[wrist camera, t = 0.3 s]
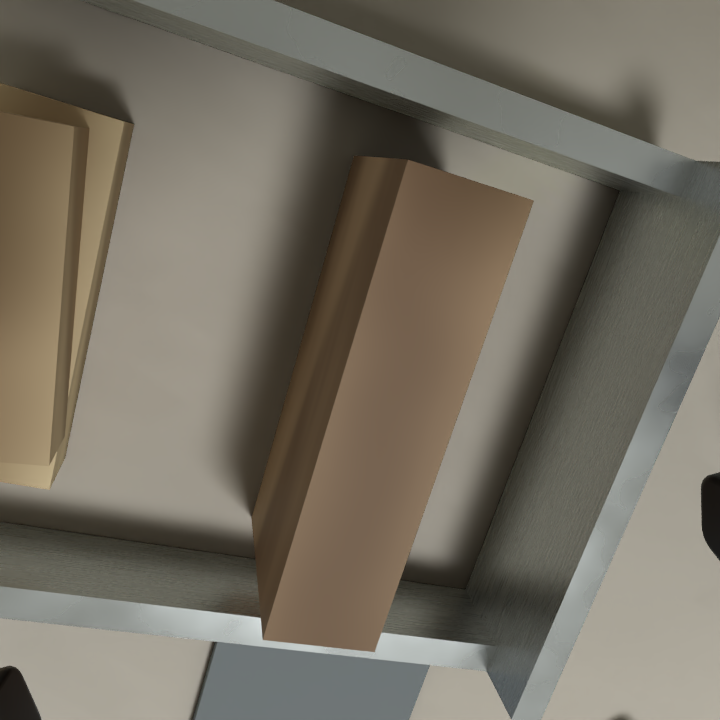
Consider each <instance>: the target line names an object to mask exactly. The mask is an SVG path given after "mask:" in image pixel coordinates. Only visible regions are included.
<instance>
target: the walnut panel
mask: <svg viewBox="0 0 720 720" xmlns="http://www.w3.org/2000/svg"><path fill="white" fill-rule="evenodd" d="M533 202H534V201H533V200H530V199H527V198H524V197H521V196H518V195H515V194H512V193H509V192H506V191H503V190H500V189H497V188H494V187H491V186H488V185H484V184H481V183H478V182H475V181H472V180H469V179H466V178H463V177H460V176H457V175H454V174H451V173H448V172H445V171H442V170H439V169H436V168H432V167H429V166H426V165H423V164H420V163H417V162H414V161H411V160H408V159H394V158H381V157H367V156H354V158H353V161H352V165H351V168H350V172H349V175H348V179H347V182H346V186H345V189H344V193H343V196H342V200H341V204H340V207H339V211H338V214H337V218H336V221H335V225H334V228H333V232H332V235H331V239H330V242H329V246H328V249H327V253H326V257H325V260H324V264H323V267H322V271H321V274H320V278H319V281H318V285H317V288H316V292H315V295H314V299H313V302H312V306H311V310H310V313H309V317H308V320H307V324H306V327H305V331H304V334H303V338H302V341H301V345H300V348H299V352H298V355H297V359H296V363H295V366H294V370H293V373H292V377H291V380H290V384H289V387H288V391H287V394H286V398H285V401H284V405H283V409H282V412H281V416H280V419H279V423H278V426H277V430H276V433H275V437H274V440H273V444H272V447H271V451H270V454H269V458H268V462H267V465H266V469H265V472H264V476H263V479H262V483H261V486H260V490H259V493H258V497H257V500H256V504H255V507H254V511H253V515H252V527H253V538H254V549H255V560H256V572H257V583H258V594H259V605H260V616H261V627H262V638H263V640H267V641H276V642H285V643H295V644H304V645H313V646H322V647H332V648H341V649H350V650H359V651H369V652H375V650H376V647H377V644H378V641H379V638H380V635H381V633H382V630H383V627H384V624H385V621H386V618H387V616H388V613H389V610H390V607H391V604H392V601H393V599H394V596H395V593H396V590H397V587H398V584H399V582H400V579H401V576H402V573H403V570H404V567H405V565H406V562H407V559H408V556H409V553H410V550H411V547H412V545H413V542H414V539H415V536H416V533H417V530H418V528H419V525H420V522H421V519H422V516H423V513H424V511H425V508H426V505H427V502H428V499H429V496H430V494H431V491H432V488H433V485H434V482H435V479H436V477H437V474H438V471H439V468H440V465H441V462H442V460H443V457H444V454H445V451H446V448H447V445H448V443H449V440H450V437H451V434H452V431H453V428H454V426H455V423H456V420H457V417H458V414H459V411H460V409H461V406H462V403H463V400H464V397H465V394H466V392H467V389H468V386H469V383H470V380H471V377H472V375H473V372H474V369H475V366H476V363H477V360H478V358H479V355H480V352H481V349H482V346H483V343H484V340H485V338H486V335H487V332H488V329H489V326H490V323H491V321H492V318H493V315H494V312H495V309H496V306H497V304H498V301H499V298H500V295H501V292H502V289H503V287H504V284H505V281H506V278H507V275H508V272H509V270H510V267H511V264H512V261H513V258H514V255H515V253H516V250H517V247H518V244H519V241H520V238H521V236H522V233H523V230H524V227H525V224H526V221H527V219H528V216H529V213H530V210H531V207H532V204H533Z"/></svg>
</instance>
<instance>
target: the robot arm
mask: <svg viewBox="0 0 720 720" xmlns="http://www.w3.org/2000/svg"><path fill="white" fill-rule="evenodd" d="M701 511H702V531H703V536H704V538H705V541H706V542H707V544H708V546H709V547H710V549H711V550H712V551H713V553H714V554H715V555H716V557H717V558H718V559H719V560H720V472H719V473H716V474H712V475H708V476H707V477H706V478H704V480H703V482H702V484H701ZM0 720H41V716H40V714H39V711H38V709H37V707H36V705H35V702H34V700H33V698H32V696H31V694H30V691H29V689H28V687H27V685H26V682H25V680H24V678H23V676H22V674H21V672H20V671H19V670H18V669H17V668H16V667H13V666H7V667H3V668H0Z"/></svg>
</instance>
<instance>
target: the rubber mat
mask: <svg viewBox="0 0 720 720" xmlns="http://www.w3.org/2000/svg"><path fill="white" fill-rule="evenodd" d="M429 666H430V665H425V664H416V663H407V662H398V661H388V660H379V659H370V658H361V657H352V656H343V655H333V654H324V653H315V652H306V651H297V650H288V649H279V648H269V647H260V646H251V645H242V644H233V643H224V642H215V644H214V648H213V651H212V655H211V658H210V662H209V665H208V669H207V672H206V676H205V679H204V683H203V686H202V690H201V693H200V696H199V700H198V703H197V707H196V710H195V714H194V717H193V720H409V718H410V716H411V713H412V710H413V708H414V705H415V703H416V700H417V697H418V695H419V692H420V690H421V687H422V684H423V682H424V679H425V677H426V674H427V671H428V669H429Z"/></svg>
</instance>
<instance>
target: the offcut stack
mask: <svg viewBox="0 0 720 720" xmlns="http://www.w3.org/2000/svg"><path fill="white" fill-rule="evenodd" d="M133 127H134V124H132V123H129V122H125V121H122V120H119V119H116V118H112V117H109V116H106V115H103V114H100V113H96V112H93V111H90V110H87V109H83V108H80V107H77V106H74V105H71V104H67V103H64V102H61V101H58V100H54V99H51V98H48V97H45V96H42V95H38V94H35V93H32V92H29V91H25V90H22V89H19V88H16V87H12V86H9V85H5V84H2V83H0V482H5V483H11V484H17V485H23V486H30V487H36V488H42V489H48V490H50V488H51V486H52V483H53V481H54V479H55V477H56V475H57V473H58V471H59V469H60V467H61V465H62V463H63V461H64V459H65V456H66V451H67V446H68V441H69V436H70V432H71V427H72V422H73V417H74V412H75V407H76V403H77V398H78V393H79V388H80V383H81V378H82V374H83V369H84V364H85V359H86V354H87V349H88V345H89V340H90V335H91V330H92V325H93V320H94V316H95V311H96V306H97V301H98V296H99V292H100V287H101V282H102V277H103V272H104V267H105V263H106V258H107V253H108V248H109V243H110V238H111V234H112V229H113V224H114V219H115V214H116V209H117V205H118V200H119V195H120V190H121V185H122V180H123V176H124V171H125V166H126V161H127V156H128V151H129V147H130V142H131V137H132V132H133Z"/></svg>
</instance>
